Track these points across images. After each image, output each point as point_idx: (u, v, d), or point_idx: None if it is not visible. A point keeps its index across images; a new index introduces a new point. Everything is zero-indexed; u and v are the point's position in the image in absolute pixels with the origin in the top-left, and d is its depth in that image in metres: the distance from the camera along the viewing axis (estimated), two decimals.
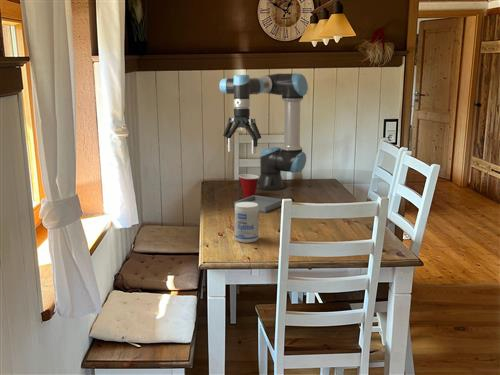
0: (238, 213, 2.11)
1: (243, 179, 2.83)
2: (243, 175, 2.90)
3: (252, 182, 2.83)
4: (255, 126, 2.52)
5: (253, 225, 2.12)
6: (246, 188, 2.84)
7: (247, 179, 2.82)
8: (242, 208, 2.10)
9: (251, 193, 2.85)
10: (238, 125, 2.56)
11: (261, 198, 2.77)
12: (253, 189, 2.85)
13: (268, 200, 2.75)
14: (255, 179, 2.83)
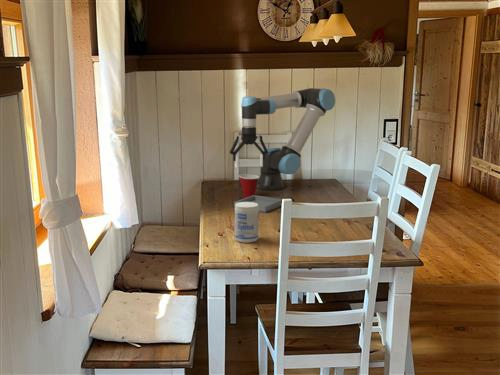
0: (238, 213, 2.11)
1: (243, 179, 2.83)
2: (243, 175, 2.90)
3: (252, 182, 2.83)
4: (234, 142, 2.81)
5: (253, 225, 2.12)
6: (246, 188, 2.84)
7: (247, 179, 2.82)
8: (242, 208, 2.10)
9: (251, 193, 2.85)
10: None
11: (261, 198, 2.77)
12: (253, 189, 2.85)
13: (268, 200, 2.75)
14: (255, 179, 2.83)
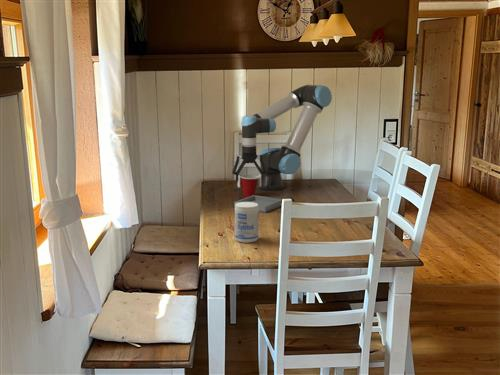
0: (238, 213, 2.11)
1: (243, 179, 2.83)
2: (243, 175, 2.90)
3: (252, 182, 2.83)
4: (235, 162, 2.83)
5: (253, 225, 2.12)
6: (246, 188, 2.84)
7: (247, 179, 2.82)
8: (242, 208, 2.10)
9: (251, 193, 2.85)
10: None
11: (261, 198, 2.77)
12: (253, 189, 2.85)
13: (268, 200, 2.75)
14: (255, 179, 2.83)
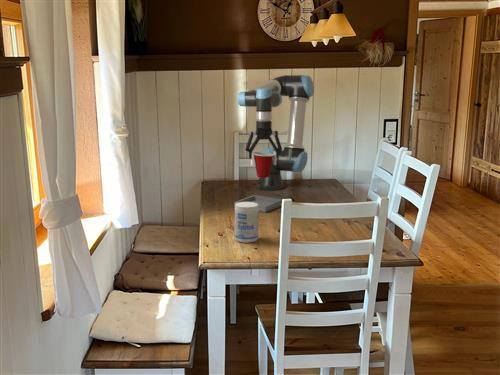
0: (238, 213, 2.11)
1: (257, 156, 2.63)
2: (257, 153, 2.70)
3: (267, 160, 2.63)
4: (249, 139, 2.63)
5: (253, 225, 2.12)
6: (260, 166, 2.64)
7: (262, 156, 2.61)
8: (242, 208, 2.10)
9: (265, 172, 2.65)
10: None
11: (261, 198, 2.77)
12: (268, 167, 2.65)
13: (268, 200, 2.75)
14: (270, 157, 2.63)
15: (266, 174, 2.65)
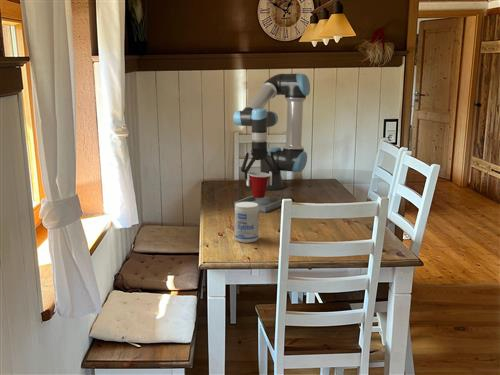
0: (238, 213, 2.11)
1: (253, 177, 2.62)
2: (252, 173, 2.69)
3: (262, 180, 2.62)
4: (244, 159, 2.62)
5: (253, 225, 2.12)
6: (256, 187, 2.63)
7: (257, 177, 2.61)
8: (242, 208, 2.10)
9: (261, 192, 2.64)
10: None
11: (261, 198, 2.77)
12: (263, 188, 2.64)
13: (268, 200, 2.75)
14: (266, 177, 2.62)
15: (262, 194, 2.65)
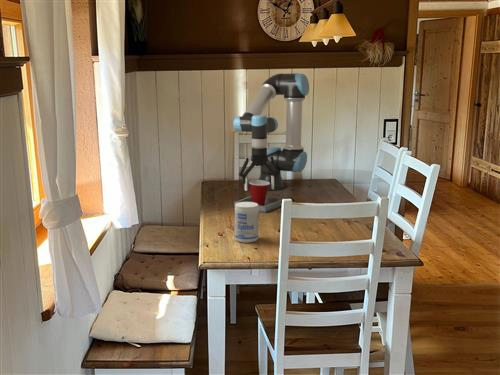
0: (238, 213, 2.11)
1: (252, 185, 2.63)
2: (252, 181, 2.70)
3: (262, 189, 2.63)
4: (244, 164, 2.63)
5: (253, 225, 2.12)
6: (256, 195, 2.64)
7: (257, 186, 2.62)
8: (242, 208, 2.10)
9: (261, 200, 2.65)
10: None
11: None
12: (263, 196, 2.65)
13: (268, 200, 2.75)
14: (265, 186, 2.63)
15: (261, 203, 2.66)
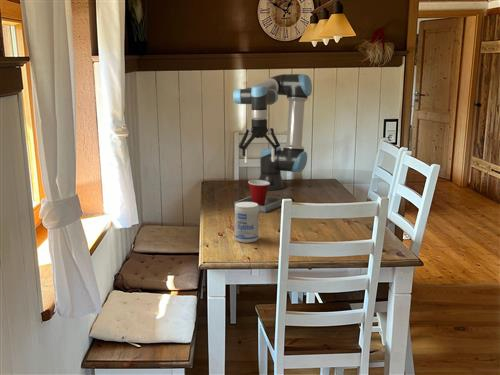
0: (238, 213, 2.11)
1: (252, 185, 2.63)
2: (252, 181, 2.70)
3: (262, 189, 2.63)
4: (243, 136, 2.60)
5: (253, 225, 2.12)
6: (256, 195, 2.64)
7: (257, 186, 2.62)
8: (242, 208, 2.10)
9: (261, 200, 2.65)
10: None
11: None
12: (263, 196, 2.65)
13: (268, 200, 2.75)
14: (265, 186, 2.63)
15: (261, 203, 2.66)
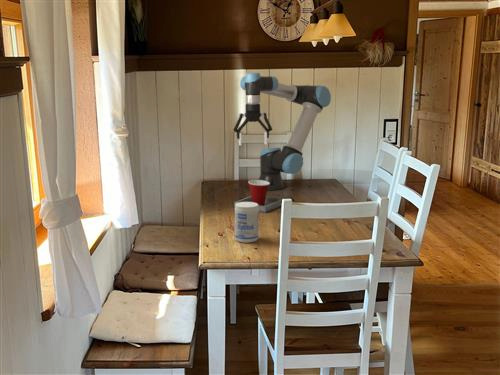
0: (238, 213, 2.11)
1: (252, 185, 2.63)
2: (252, 181, 2.70)
3: (262, 189, 2.63)
4: (238, 120, 2.76)
5: (253, 225, 2.12)
6: (256, 195, 2.64)
7: (257, 186, 2.62)
8: (242, 208, 2.10)
9: (261, 200, 2.65)
10: None
11: None
12: (263, 196, 2.65)
13: (268, 200, 2.75)
14: (265, 186, 2.63)
15: (261, 203, 2.66)
